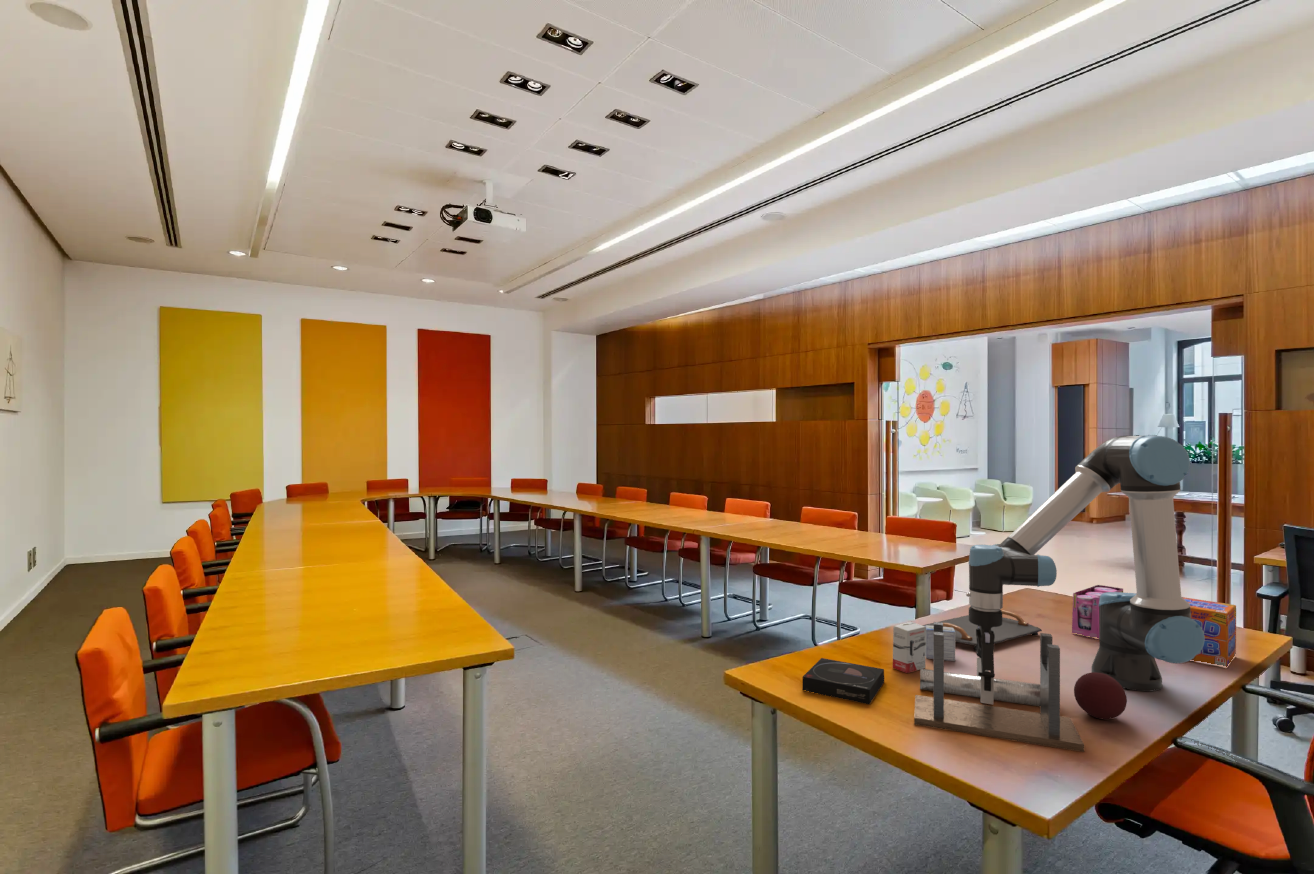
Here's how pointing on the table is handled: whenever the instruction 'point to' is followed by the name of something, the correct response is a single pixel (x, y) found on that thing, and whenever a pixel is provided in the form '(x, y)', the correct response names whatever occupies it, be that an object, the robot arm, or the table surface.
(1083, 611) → the gum box
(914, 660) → the ink box
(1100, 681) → the decorative ball
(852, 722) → the table surface
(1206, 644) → the game box
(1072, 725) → the bracket rack
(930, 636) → the medicine box
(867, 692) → the portable cd player
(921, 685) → the steel rod
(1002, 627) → the serving board
